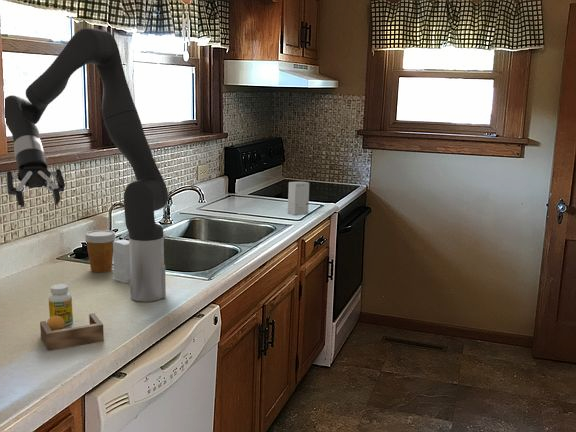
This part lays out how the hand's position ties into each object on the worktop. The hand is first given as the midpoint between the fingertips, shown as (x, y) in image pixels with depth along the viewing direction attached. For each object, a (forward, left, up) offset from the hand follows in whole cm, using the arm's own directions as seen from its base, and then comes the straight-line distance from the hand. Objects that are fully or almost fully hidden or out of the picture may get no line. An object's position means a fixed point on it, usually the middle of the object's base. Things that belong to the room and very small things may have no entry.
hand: (40, 204), depth 168 cm
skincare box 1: (-23, -12, -27) cm, 37 cm away
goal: (-6, +30, -27) cm, 40 cm away
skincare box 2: (-111, -93, -27) cm, 147 cm away
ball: (-2, +24, -25) cm, 34 cm away
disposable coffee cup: (-17, -25, -27) cm, 41 cm away
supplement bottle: (-4, +19, -27) cm, 33 cm away
